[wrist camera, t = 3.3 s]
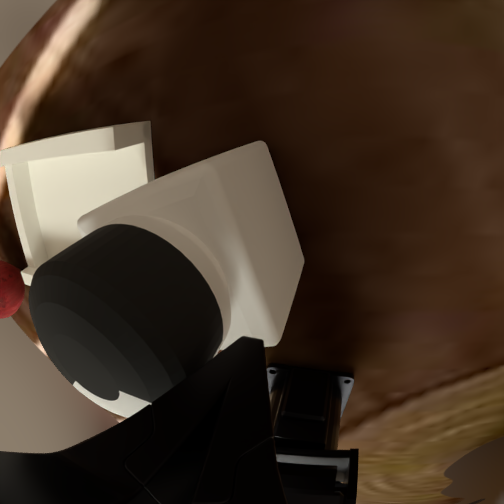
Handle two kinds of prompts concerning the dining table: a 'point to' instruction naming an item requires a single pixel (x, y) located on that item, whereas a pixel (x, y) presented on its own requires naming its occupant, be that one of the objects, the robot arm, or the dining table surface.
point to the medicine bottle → (169, 279)
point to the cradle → (71, 182)
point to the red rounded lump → (10, 289)
